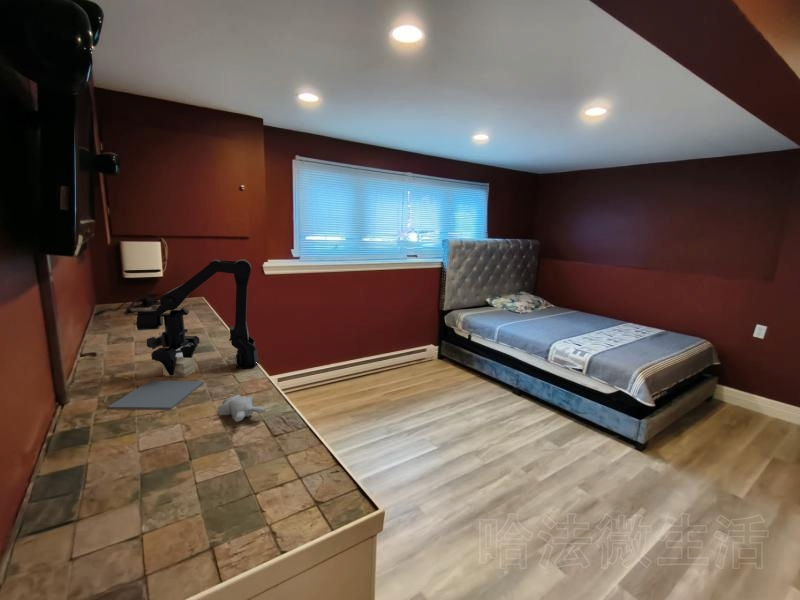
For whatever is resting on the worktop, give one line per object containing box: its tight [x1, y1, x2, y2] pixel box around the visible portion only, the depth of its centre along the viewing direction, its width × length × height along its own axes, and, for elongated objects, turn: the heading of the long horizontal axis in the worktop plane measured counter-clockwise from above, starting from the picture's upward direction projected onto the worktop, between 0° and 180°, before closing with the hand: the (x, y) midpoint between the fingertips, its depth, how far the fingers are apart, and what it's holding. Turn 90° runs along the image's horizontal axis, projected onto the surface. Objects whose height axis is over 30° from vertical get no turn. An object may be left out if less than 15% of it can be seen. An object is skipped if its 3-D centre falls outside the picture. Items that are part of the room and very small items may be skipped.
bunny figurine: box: [217, 394, 266, 423], centre depth 100 cm, size 10×5×15 cm
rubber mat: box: [107, 380, 205, 410], centre depth 112 cm, size 18×18×1 cm
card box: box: [161, 357, 196, 378], centre depth 128 cm, size 8×6×5 cm
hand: (179, 370), depth 129 cm, fingers open, 9 cm apart
